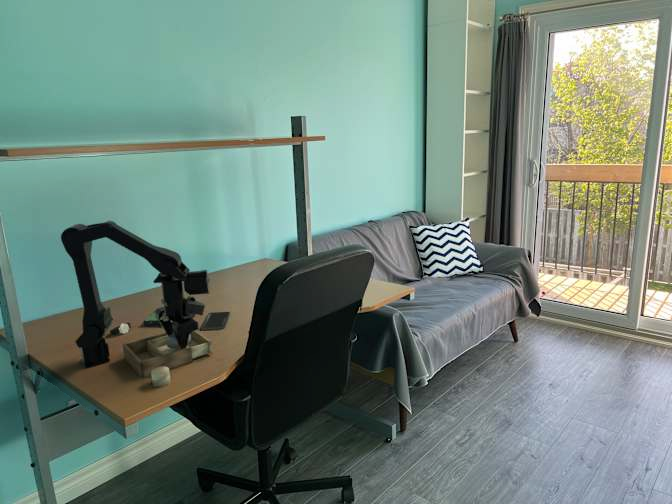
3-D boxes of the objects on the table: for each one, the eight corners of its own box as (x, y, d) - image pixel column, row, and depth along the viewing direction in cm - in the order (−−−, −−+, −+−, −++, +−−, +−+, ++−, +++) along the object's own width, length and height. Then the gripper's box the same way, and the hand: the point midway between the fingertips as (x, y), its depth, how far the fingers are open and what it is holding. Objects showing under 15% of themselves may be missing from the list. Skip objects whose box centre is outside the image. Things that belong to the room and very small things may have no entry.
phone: (199, 328, 164) (208, 312, 179) (200, 331, 164) (209, 315, 179) (224, 327, 164) (231, 311, 179) (224, 330, 165) (231, 314, 179)
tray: (165, 368, 137) (164, 354, 136) (147, 350, 148) (145, 338, 148) (215, 352, 146) (214, 340, 145) (194, 337, 157) (193, 325, 156)
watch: (117, 338, 161) (115, 327, 160) (106, 336, 162) (104, 326, 162) (135, 329, 168) (133, 319, 167) (124, 327, 169) (122, 317, 168)
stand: (156, 388, 127) (154, 376, 126) (150, 382, 130) (148, 370, 130) (173, 382, 130) (171, 370, 129) (166, 376, 133) (165, 364, 132)
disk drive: (195, 317, 179) (155, 317, 180) (195, 309, 178) (154, 309, 179) (186, 327, 169) (143, 327, 169) (185, 320, 168) (142, 320, 169)
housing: (142, 378, 133) (140, 362, 132) (124, 358, 145) (122, 344, 144) (192, 362, 141) (191, 347, 140) (171, 345, 153) (170, 331, 152)
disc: (195, 343, 146) (194, 337, 145) (171, 350, 141) (171, 343, 141) (186, 336, 151) (185, 330, 151) (163, 343, 147) (162, 336, 146)
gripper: (213, 297, 140) (218, 348, 144) (187, 283, 155) (192, 330, 158) (175, 306, 134) (181, 360, 137) (151, 290, 148) (157, 339, 152)
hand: (179, 346), depth 146 cm, fingers closed on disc, 7 cm apart
